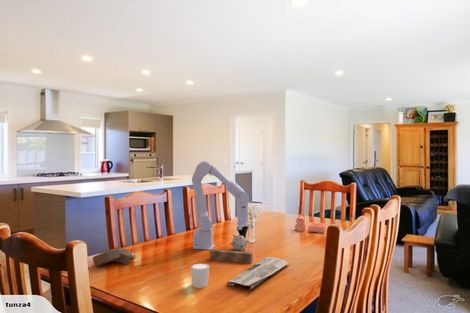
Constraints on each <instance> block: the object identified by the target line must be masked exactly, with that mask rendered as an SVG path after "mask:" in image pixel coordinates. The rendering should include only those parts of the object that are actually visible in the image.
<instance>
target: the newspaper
mask: <svg viewBox="0 0 470 313" xmlns="http://www.w3.org/2000/svg"><path fill="white" fill-rule="evenodd" d="M288 264H290V261H286V260H285V259H283V258H278V257H272V256H265V257H263V258H262V259H261V260H259V261H257V262H256V263H255V264H252V265H251V266H250V267H248V268H247V269H246V270H244V271H242V272H240V273H239V274H238V275H236V276H235V277H234V278H231V279H230V280H229V281H227V282H226V286H232V284H235V285H237V284H240V285H242V286H247V287H250V288H248V290H249V291H250V290H252V289H253V288H255V287H256V286H257V285H259V284H260V283H261V282H264V280H266V279H267V278H268V277H270V276H272V275H273V274H275V273H276V272H277V271H279V270H280V269H282V268H283V267H285V266H286V265H288Z"/></svg>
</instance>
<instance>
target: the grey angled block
mask: <svg viewBox="0 0 470 313" xmlns="http://www.w3.org/2000/svg"><path fill="white" fill-rule="evenodd" d="M135 257H136V253H135V252H131V251H130V250H129V249H127V248H125V247H121V248H120V247H119V248H113V249H112V248H111V249H109V250H107V251H104V252H102V253H99V254H97V255H95V256H92V260H93V265H94V267H97V266H101V265H106V264H109V263H111V262H113V261H115V262H118V263H121V264H123V265H127V266H130V263H131V259H134V258H135Z"/></svg>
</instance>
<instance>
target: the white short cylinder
mask: <svg viewBox="0 0 470 313" xmlns="http://www.w3.org/2000/svg"><path fill="white" fill-rule="evenodd" d="M209 273H210V265H209V264H208V263H195V264H192V265H191V266H190V274H191V285H192V287H193V286H194V287H193V288H195V287H197V289H202V288H203V287H204V288H206V287H207V286H208V285H209V276H210V275H209Z"/></svg>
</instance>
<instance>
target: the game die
mask: <svg viewBox="0 0 470 313" xmlns="http://www.w3.org/2000/svg"><path fill="white" fill-rule="evenodd" d="M248 243H249V240H247V238H244V237H243V234H242V235H240V236H239V235H235V234H233V238H232V241H231V243H229V245H232V247H233V248H234V251H243V252H246V246H247V244H248Z"/></svg>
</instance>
